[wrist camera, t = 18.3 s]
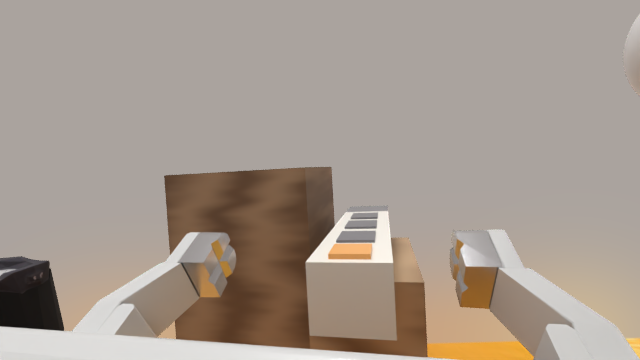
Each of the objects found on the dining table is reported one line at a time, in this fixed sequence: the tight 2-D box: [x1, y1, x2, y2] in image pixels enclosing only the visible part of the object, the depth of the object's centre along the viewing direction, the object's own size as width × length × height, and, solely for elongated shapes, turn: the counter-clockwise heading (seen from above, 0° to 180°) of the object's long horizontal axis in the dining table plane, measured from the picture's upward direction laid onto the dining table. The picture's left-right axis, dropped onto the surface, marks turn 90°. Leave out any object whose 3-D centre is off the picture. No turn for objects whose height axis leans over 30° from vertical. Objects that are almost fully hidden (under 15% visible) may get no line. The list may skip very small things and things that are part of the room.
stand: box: [164, 167, 427, 357], centre depth 29 cm, size 20×14×26 cm
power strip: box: [305, 206, 397, 341], centre depth 26 cm, size 4×24×4 cm, turn 168°
